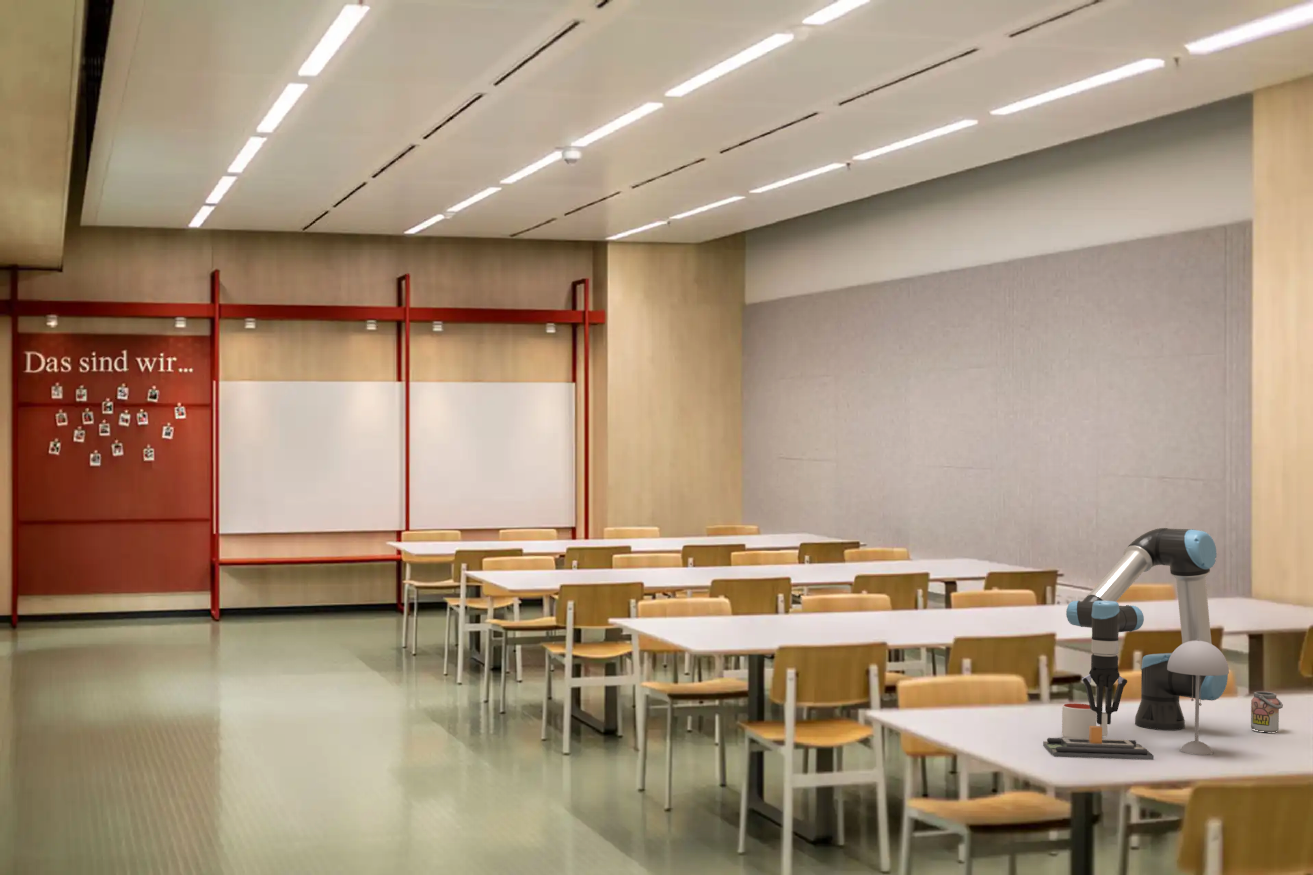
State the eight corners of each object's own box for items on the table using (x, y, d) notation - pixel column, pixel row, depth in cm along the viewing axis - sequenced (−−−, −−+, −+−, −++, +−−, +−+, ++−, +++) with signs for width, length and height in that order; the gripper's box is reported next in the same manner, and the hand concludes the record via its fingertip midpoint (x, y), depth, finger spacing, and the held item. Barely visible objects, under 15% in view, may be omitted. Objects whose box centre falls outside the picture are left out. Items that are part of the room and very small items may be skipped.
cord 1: (1134, 744, 441) (1134, 740, 441) (1136, 745, 440) (1136, 740, 440) (1046, 742, 443) (1046, 737, 443) (1047, 743, 442) (1047, 738, 442)
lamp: (1220, 760, 427) (1222, 644, 427) (1159, 752, 436) (1161, 639, 436) (1232, 750, 442) (1234, 638, 442) (1173, 743, 451) (1175, 633, 451)
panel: (1139, 748, 442) (1139, 737, 442) (1153, 759, 426) (1153, 748, 426) (1043, 745, 444) (1043, 734, 444) (1053, 756, 428) (1054, 745, 428)
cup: (1078, 743, 448) (1078, 710, 448) (1054, 737, 457) (1055, 704, 457) (1103, 740, 453) (1103, 707, 453) (1079, 734, 462) (1080, 702, 462)
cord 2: (1146, 753, 428) (1146, 748, 428) (1147, 754, 427) (1147, 749, 427) (1055, 751, 430) (1055, 746, 430) (1056, 752, 429) (1056, 747, 429)
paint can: (1286, 731, 473) (1286, 693, 473) (1276, 735, 466) (1276, 696, 466) (1256, 727, 479) (1257, 690, 479) (1246, 731, 473) (1247, 693, 473)
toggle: (1101, 747, 436) (1101, 726, 436) (1103, 749, 433) (1104, 728, 433) (1087, 746, 437) (1087, 725, 437) (1089, 748, 433) (1090, 727, 433)
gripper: (1124, 653, 438) (1122, 733, 438) (1079, 652, 439) (1077, 732, 439) (1130, 656, 431) (1129, 738, 431) (1084, 655, 431) (1083, 737, 431)
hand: (1103, 735), depth 435 cm, fingers closed
